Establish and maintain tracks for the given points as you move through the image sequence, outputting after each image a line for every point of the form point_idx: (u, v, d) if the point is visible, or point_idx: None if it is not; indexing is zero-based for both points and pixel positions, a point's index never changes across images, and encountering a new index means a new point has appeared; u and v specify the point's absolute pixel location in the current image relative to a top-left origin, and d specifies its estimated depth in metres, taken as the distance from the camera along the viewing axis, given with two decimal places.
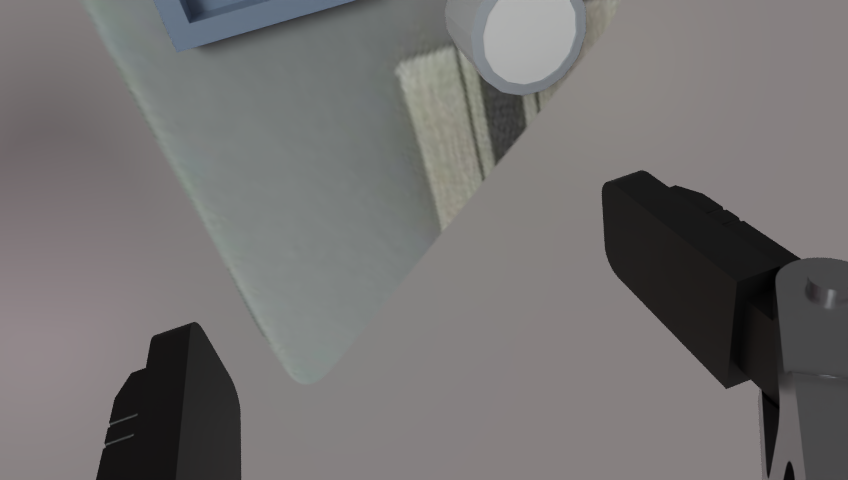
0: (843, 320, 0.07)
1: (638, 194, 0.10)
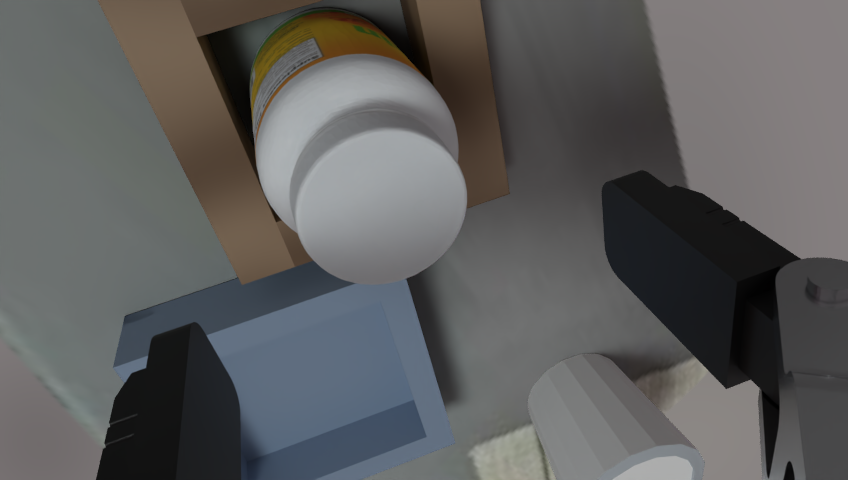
0: (843, 320, 0.07)
1: (638, 194, 0.10)
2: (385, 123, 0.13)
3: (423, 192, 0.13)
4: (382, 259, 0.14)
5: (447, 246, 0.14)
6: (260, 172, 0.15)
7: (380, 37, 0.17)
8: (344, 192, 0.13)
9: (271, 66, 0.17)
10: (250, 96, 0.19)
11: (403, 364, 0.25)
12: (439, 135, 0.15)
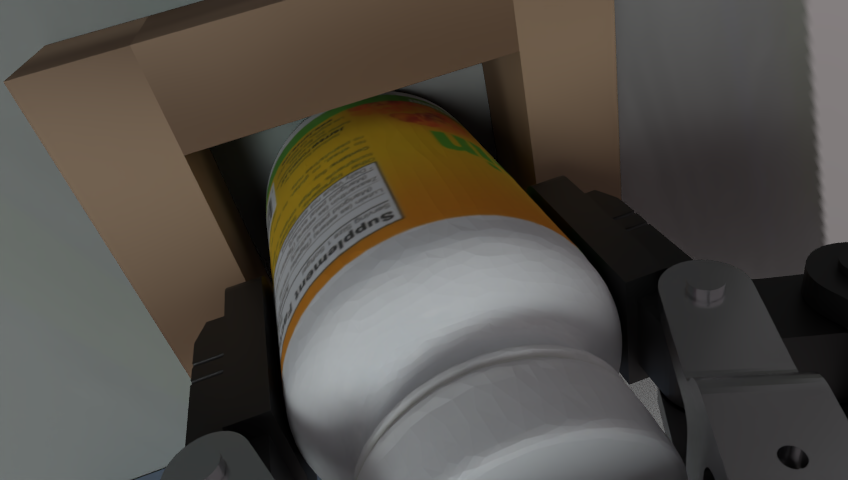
0: (710, 319, 0.08)
1: (554, 198, 0.11)
2: (558, 407, 0.06)
3: None
4: None
5: None
6: (291, 421, 0.08)
7: (476, 152, 0.11)
8: None
9: (305, 207, 0.10)
10: (267, 227, 0.13)
11: None
12: (603, 350, 0.09)
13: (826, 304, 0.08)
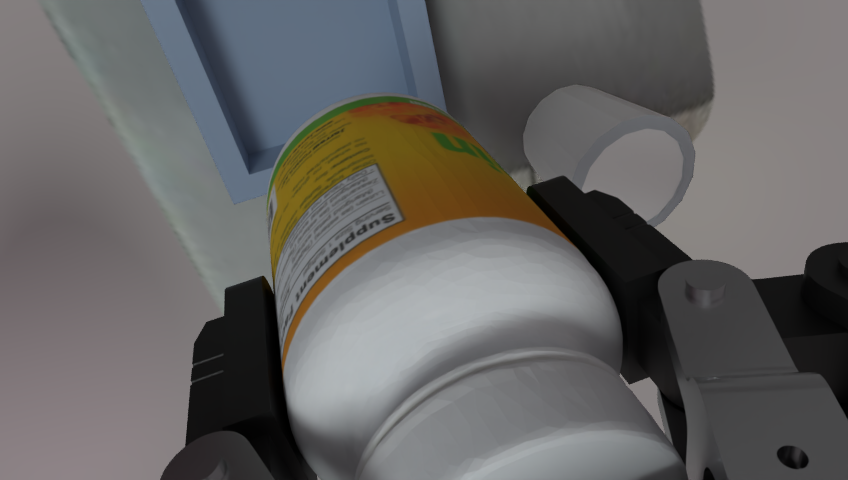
0: (710, 319, 0.08)
1: (554, 198, 0.11)
2: (559, 410, 0.06)
3: None
4: None
5: None
6: (292, 423, 0.08)
7: (476, 154, 0.11)
8: None
9: (306, 209, 0.10)
10: (268, 229, 0.13)
11: (401, 15, 0.26)
12: (604, 352, 0.09)
13: (826, 304, 0.08)
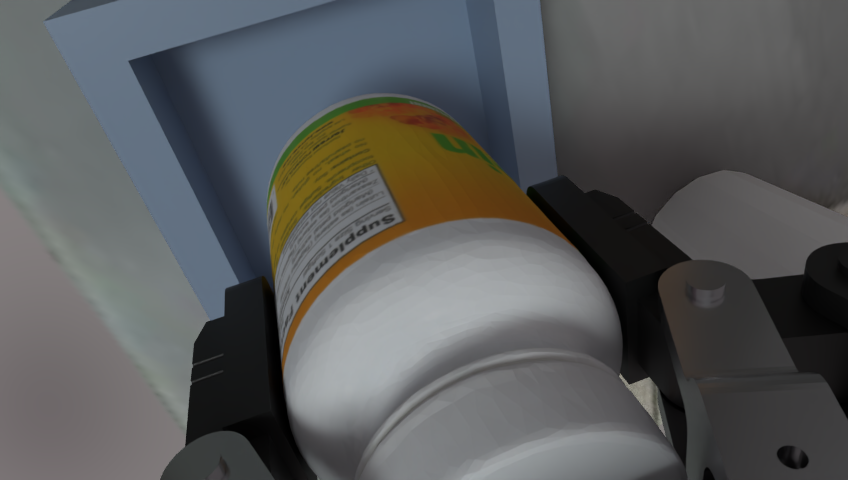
0: (710, 319, 0.08)
1: (554, 198, 0.11)
2: (559, 411, 0.06)
3: None
4: None
5: None
6: (292, 424, 0.08)
7: (476, 155, 0.11)
8: None
9: (306, 209, 0.10)
10: (268, 229, 0.13)
11: (509, 98, 0.16)
12: (604, 352, 0.09)
13: (826, 304, 0.08)
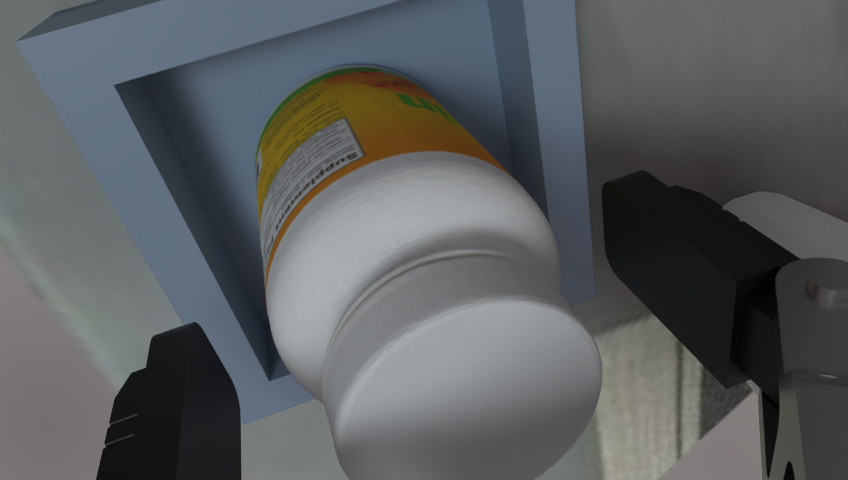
0: (843, 320, 0.07)
1: (638, 194, 0.10)
2: (483, 286, 0.08)
3: (538, 384, 0.08)
4: (469, 479, 0.09)
5: (567, 449, 0.09)
6: (274, 332, 0.10)
7: (435, 110, 0.12)
8: (415, 398, 0.08)
9: (285, 159, 0.12)
10: (256, 187, 0.14)
11: (539, 122, 0.15)
12: (540, 266, 0.10)
13: None
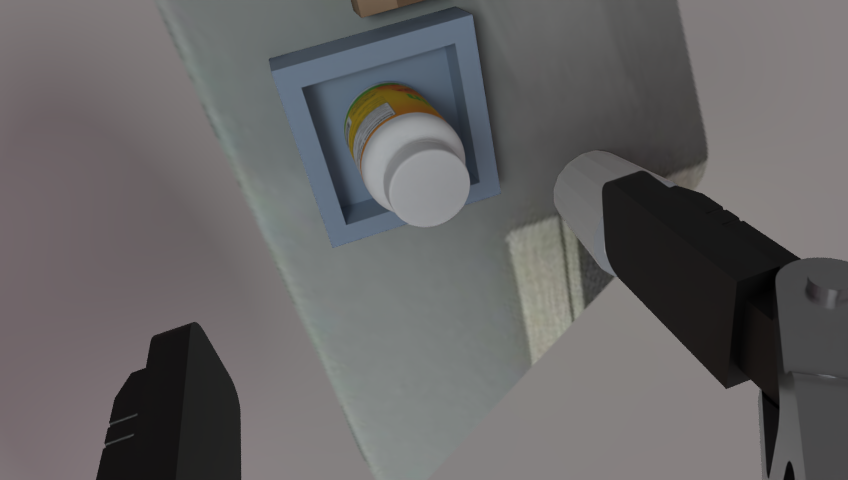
0: (843, 320, 0.07)
1: (638, 194, 0.10)
2: (431, 147, 0.27)
3: (448, 179, 0.28)
4: (429, 213, 0.28)
5: (460, 207, 0.29)
6: (365, 173, 0.29)
7: (421, 100, 0.32)
8: (412, 179, 0.27)
9: (364, 117, 0.31)
10: (346, 133, 0.34)
11: (467, 106, 0.34)
12: (455, 152, 0.30)
13: None
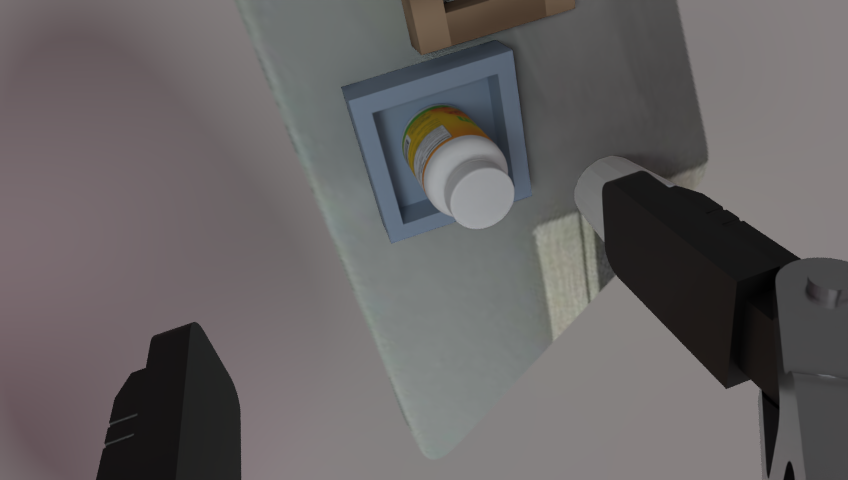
0: (843, 320, 0.07)
1: (638, 194, 0.10)
2: (484, 165, 0.34)
3: (497, 190, 0.35)
4: (481, 218, 0.35)
5: (506, 212, 0.36)
6: (427, 185, 0.36)
7: (469, 121, 0.39)
8: (469, 191, 0.34)
9: (423, 137, 0.38)
10: (405, 148, 0.40)
11: (506, 124, 0.41)
12: (500, 167, 0.36)
13: None
